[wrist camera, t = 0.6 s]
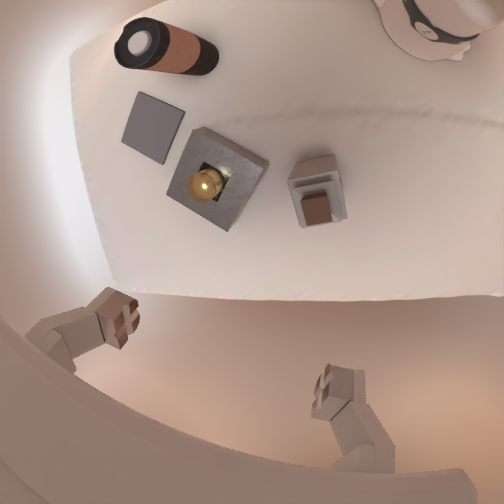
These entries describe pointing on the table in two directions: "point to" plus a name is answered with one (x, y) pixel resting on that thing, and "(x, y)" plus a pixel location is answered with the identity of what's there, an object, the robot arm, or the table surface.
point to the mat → (152, 127)
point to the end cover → (207, 184)
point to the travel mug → (164, 49)
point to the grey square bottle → (317, 192)
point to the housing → (226, 160)
